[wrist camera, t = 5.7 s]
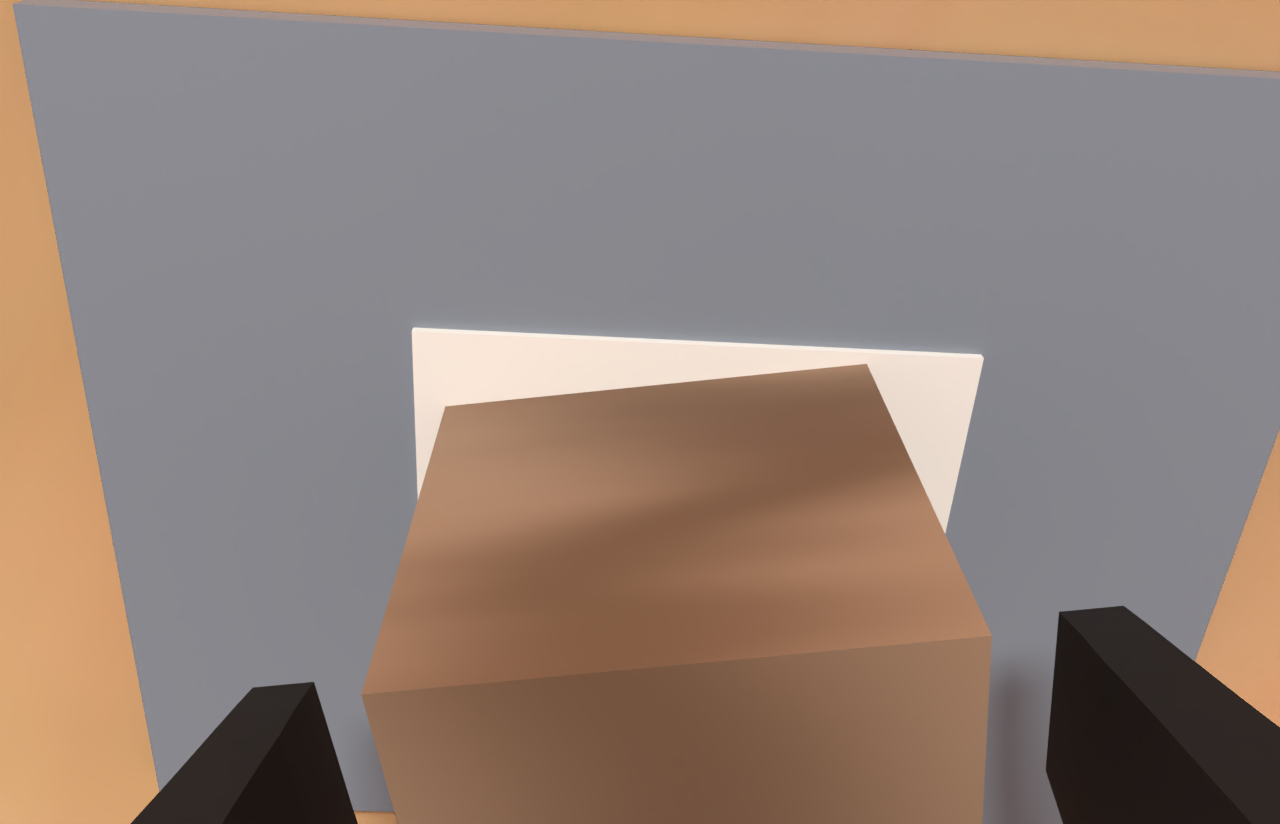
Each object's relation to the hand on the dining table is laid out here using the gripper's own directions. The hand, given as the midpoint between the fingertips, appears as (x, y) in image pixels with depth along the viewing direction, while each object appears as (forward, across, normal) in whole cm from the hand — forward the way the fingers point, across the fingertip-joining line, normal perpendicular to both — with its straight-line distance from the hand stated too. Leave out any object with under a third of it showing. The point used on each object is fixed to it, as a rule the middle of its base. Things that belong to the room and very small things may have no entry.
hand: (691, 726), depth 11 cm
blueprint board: (+3, 0, -1) cm, 3 cm away
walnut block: (+2, 0, 0) cm, 2 cm away
